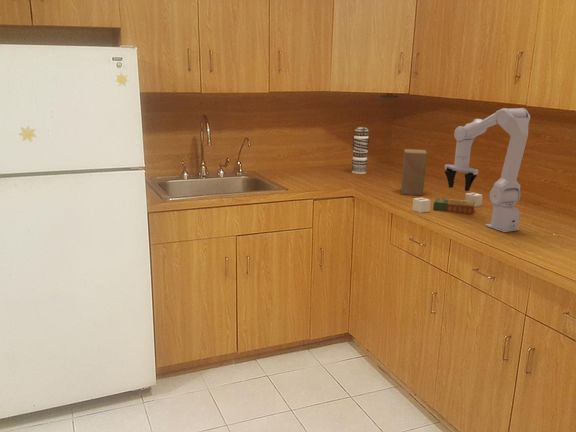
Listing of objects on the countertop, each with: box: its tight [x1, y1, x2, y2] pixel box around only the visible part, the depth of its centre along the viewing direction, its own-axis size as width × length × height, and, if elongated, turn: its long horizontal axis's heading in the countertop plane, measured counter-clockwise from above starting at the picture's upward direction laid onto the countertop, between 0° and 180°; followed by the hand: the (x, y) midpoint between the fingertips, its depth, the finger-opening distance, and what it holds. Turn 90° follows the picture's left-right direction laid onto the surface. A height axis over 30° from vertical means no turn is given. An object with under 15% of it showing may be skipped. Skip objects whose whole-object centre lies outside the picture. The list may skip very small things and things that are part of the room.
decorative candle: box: [351, 126, 370, 175], centre depth 299 cm, size 9×9×25 cm
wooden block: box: [400, 148, 428, 196], centre depth 253 cm, size 10×10×20 cm
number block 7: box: [464, 192, 484, 208], centre depth 235 cm, size 5×5×5 cm
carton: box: [432, 197, 475, 215], centre depth 226 cm, size 8×16×4 cm, turn 70°
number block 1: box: [412, 197, 432, 214], centre depth 223 cm, size 5×5×5 cm
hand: (458, 189), depth 222 cm, fingers open, 7 cm apart
